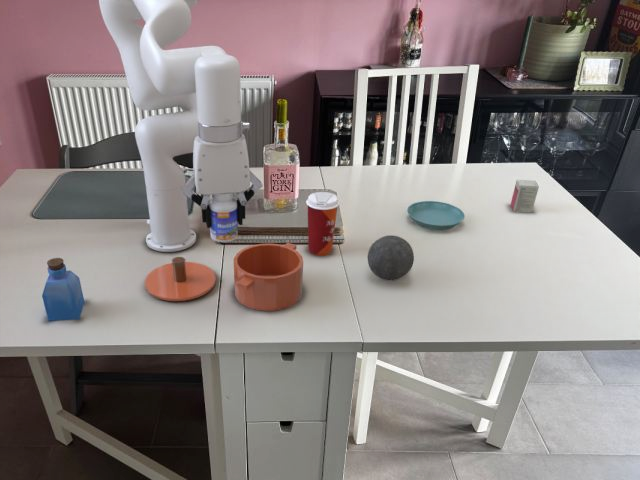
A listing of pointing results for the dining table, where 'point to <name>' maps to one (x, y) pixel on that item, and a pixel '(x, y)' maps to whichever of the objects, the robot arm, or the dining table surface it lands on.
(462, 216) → the saucer
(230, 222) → the pill bottle
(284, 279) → the orange cooking pot
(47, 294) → the perfume bottle
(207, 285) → the lid
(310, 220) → the paper cup
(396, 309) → the dining table surface
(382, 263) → the decorative ball
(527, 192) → the small box
